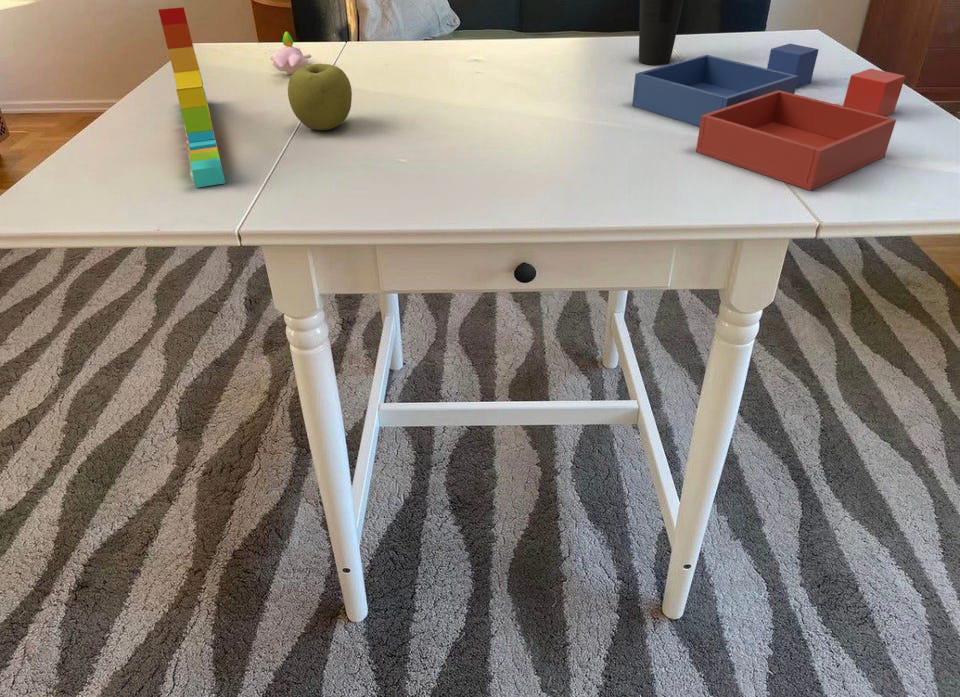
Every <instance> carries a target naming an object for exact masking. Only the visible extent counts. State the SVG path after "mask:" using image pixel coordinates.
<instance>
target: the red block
mask: <svg viewBox="0 0 960 697" xmlns="http://www.w3.org/2000/svg"><path fill="white" fill-rule="evenodd" d="M905 79H906V75H903V74H898V73H894V72H889V71H884V70H879V69H876V68H875V69H874V68H868V69H865V70H862V71H859V72H856V73H853V74H851V75H850V78H849V82H848V84H847V85H848V86H847V89H846V93H845V97H844V99H843V100H844V101H843V104H842V106H844V107H848V108H852V109H856V110H860V111H864V112H868V113H872V114H876V115H880V116H884V117H888V116H889V115H893V114H895V111H896V107H897V104H898V101H899V98H900V94H901V92H902V88H903V85H904V82H905Z"/></svg>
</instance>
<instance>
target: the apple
mask: <svg viewBox="0 0 960 697" xmlns="http://www.w3.org/2000/svg"><path fill="white" fill-rule="evenodd" d="M352 91H353V90H352V85H351V82H350V79H349V78H348V76H347V74H346V73H345V72H344V71H343V70H342V69H341V68H340V67H338V66H336V65H333V64H327V63H313V64H307V65H306V66H304V67H301V68H299V69H298V70H296V71H295V72H294V73H293V74H292V75H291V76H290V78H289V80H288V84H287V96H288V102H289V105H290V108H291V109H292V113H293V114H294V115H295V116H296V118H297V119H298V120H299V122H301V123H302V125H304V126H305V127H307V128H309V129H312V130H316V131H327V130H328V131H329V130H331V129H334V128H336V127H338V126H340V125H341V124H343V122H345V121H346V120H347V118H348V117H349V114H350V112H351V107H352V100H353V99H352V97H353V92H352Z"/></svg>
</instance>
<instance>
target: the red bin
mask: <svg viewBox="0 0 960 697" xmlns="http://www.w3.org/2000/svg"><path fill="white" fill-rule="evenodd" d="M896 123H897V119H896V118H892V117H888V116H880V115H876V114H872V113H868V112H864V111H860V110H856V109H852V108H848V107H844V106H843V105H841V104H836V103H831V102H828V101H825V100H819V99H816V98H812V97H807V96H804V95H800V94H796V93H795V94H792V93H788V92H784V91H780V90H777V91H774V92H771V93H768V94H765V95H762V96H759V97H756V98H753V99H750V100H747V101H744V102H741V103H738V104H735V105H732V106H729V107H726V108H723V109H719V110H716V111H713V112H710V113H707V114H704V115H702V116H701V122H700V127H699V130H698V136H697V142H696V143H697V144H696V148H695V152H696V153H699V154H702V155H704V156H708V157H709V158H710V157H711V158H712V159H713V158H714V159H716V160H719V161H722V162H725V163H728V164H731V165H734V166H737V167H740V168H743V169H745V170H749V171H752V172H754V173H758V174H760V175H763V176H766V177H769V178H772V179H775V180H777V181H780V182H784V183H786V184H789V185H792V186H795V187H798V188H801V189H804V190H807V191H810V192H811V191H814V190H816V189H819V188H820V187H822V186H825V185H826V184H828V183H831V182H833V181H835V180H838V179H840V178H841V177H844V176H846V175H848V174H850V173H853V172H855V171H857V170H859V169H861V168H864V167H866V166H868V165H870V164H872V163H875V162H877V161H879V160H880V159H883V158H885V157H886V154H887V150H888V147H889V144H890V140H891V138H892V135H893V132H894V128H895V125H896Z"/></svg>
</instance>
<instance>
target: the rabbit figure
mask: <svg viewBox="0 0 960 697" xmlns="http://www.w3.org/2000/svg"><path fill="white" fill-rule="evenodd" d="M282 44H283V46H284V47H282V48H281V49H280V50H278V52H277V53H276V55H275V56H271V57H269V58H270V61H272V65H273V67H274V68H275V69H277V70H279V71H281V72H285V73H286V74H287V75H291V76H292V74H293V73H294V72H295V71H296V70H298V69H299V68H301V67H304V66H308V59H310V58H312V55H311V54H310V53H309V54H308V53H307V54H306V55H304V54H303V52H302V51H301V49H300V48H298V47H296V46H293V45H294V41H293V37H292V36H291V35H290V32H289V31H285V32H284V33H283V37H282Z"/></svg>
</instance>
